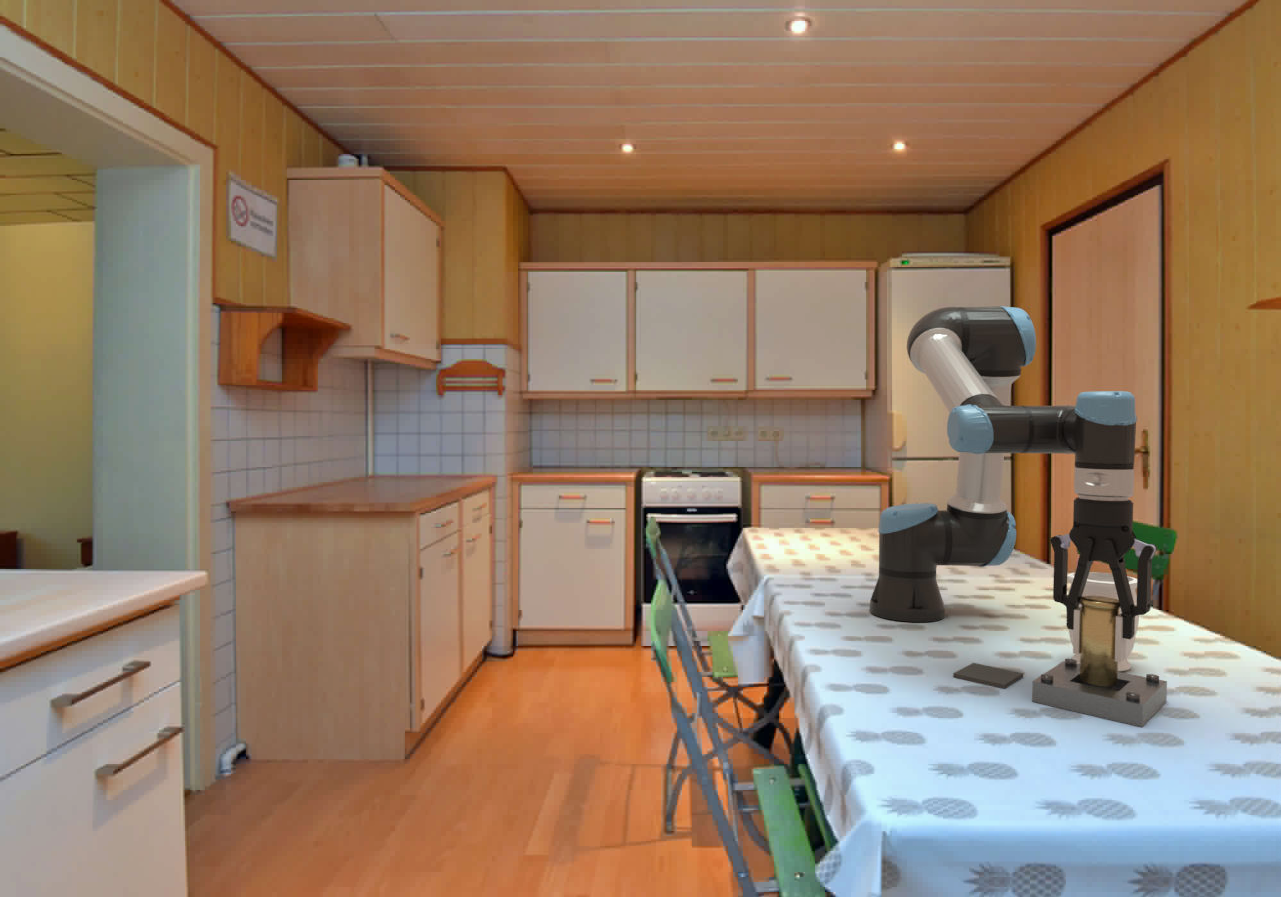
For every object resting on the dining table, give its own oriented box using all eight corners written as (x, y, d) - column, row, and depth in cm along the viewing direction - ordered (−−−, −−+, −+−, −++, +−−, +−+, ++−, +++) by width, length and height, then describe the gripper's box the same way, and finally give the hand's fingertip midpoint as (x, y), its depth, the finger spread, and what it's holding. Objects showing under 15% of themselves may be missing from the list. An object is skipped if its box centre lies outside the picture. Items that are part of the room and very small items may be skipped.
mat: (953, 677, 129) (953, 673, 129) (973, 666, 134) (973, 662, 134) (1004, 688, 123) (1004, 684, 123) (1023, 677, 129) (1023, 673, 129)
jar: (1129, 659, 138) (1131, 573, 138) (1145, 677, 129) (1147, 584, 128) (1060, 653, 142) (1062, 569, 141) (1071, 670, 132) (1073, 580, 132)
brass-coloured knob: (1073, 680, 118) (1075, 599, 117) (1084, 672, 121) (1086, 594, 121) (1113, 689, 114) (1115, 605, 114) (1123, 680, 118) (1125, 599, 117)
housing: (1032, 701, 117) (1032, 675, 117) (1063, 679, 127) (1063, 656, 127) (1142, 727, 108) (1142, 699, 107) (1166, 701, 118) (1167, 675, 117)
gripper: (1029, 494, 120) (1026, 648, 121) (1169, 504, 108) (1164, 675, 109) (1046, 491, 125) (1042, 638, 126) (1181, 500, 113) (1176, 663, 114)
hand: (1099, 655), depth 118 cm, fingers closed on brass-coloured knob, 5 cm apart
